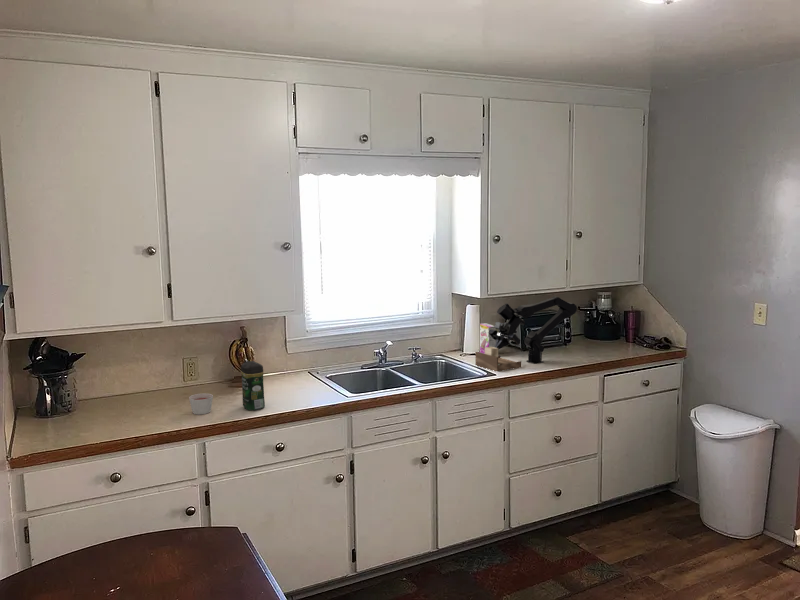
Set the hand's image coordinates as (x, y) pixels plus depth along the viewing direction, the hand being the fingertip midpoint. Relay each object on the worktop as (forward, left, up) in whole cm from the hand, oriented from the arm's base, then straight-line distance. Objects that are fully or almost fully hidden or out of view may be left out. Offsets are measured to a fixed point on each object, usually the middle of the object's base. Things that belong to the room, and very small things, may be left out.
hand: (495, 350), depth 326 cm
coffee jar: (+125, -3, -9) cm, 125 cm away
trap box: (-2, 0, -9) cm, 9 cm away
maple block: (+3, 0, -7) cm, 7 cm away
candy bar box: (-16, -24, -9) cm, 30 cm away
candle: (+144, -9, -9) cm, 145 cm away
